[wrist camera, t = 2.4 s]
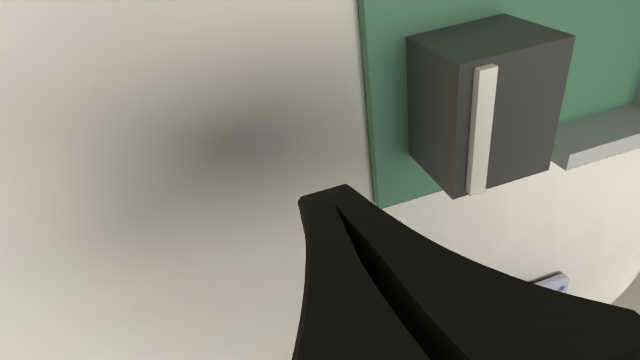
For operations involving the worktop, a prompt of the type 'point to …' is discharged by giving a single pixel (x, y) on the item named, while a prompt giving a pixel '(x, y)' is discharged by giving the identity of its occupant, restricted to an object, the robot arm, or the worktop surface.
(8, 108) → the worktop surface
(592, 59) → the header board
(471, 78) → the plug block
